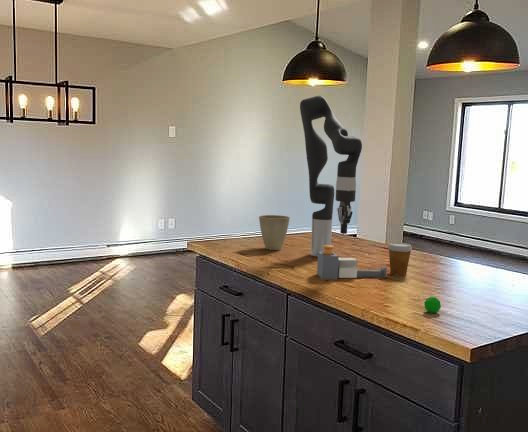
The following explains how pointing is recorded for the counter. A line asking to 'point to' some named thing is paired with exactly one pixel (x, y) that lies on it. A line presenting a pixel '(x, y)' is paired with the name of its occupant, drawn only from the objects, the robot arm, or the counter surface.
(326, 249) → the plunger
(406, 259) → the disposable coffee cup
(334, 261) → the grey hollow block
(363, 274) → the rail
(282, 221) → the plant pot
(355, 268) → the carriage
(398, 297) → the counter surface
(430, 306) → the polyhedron
